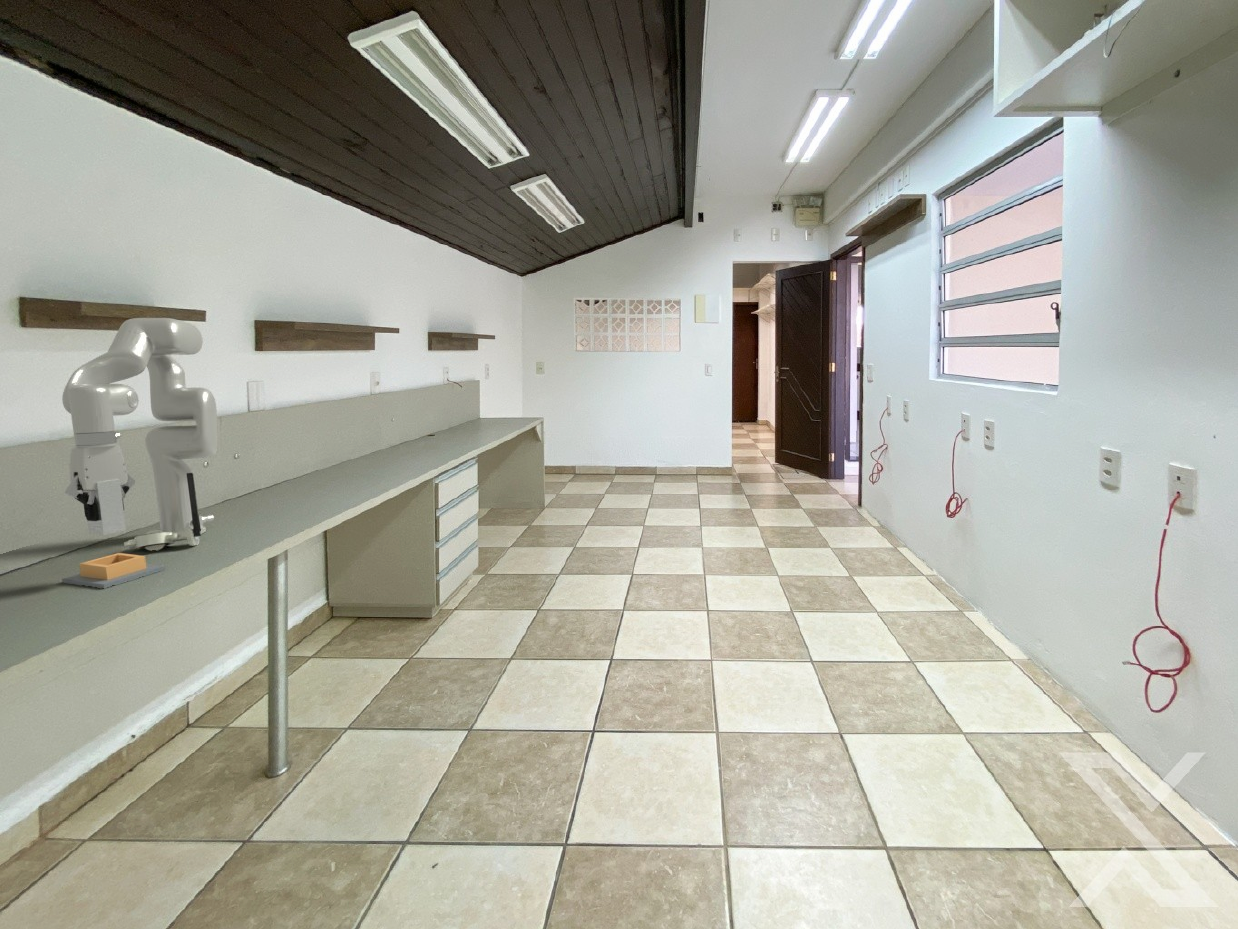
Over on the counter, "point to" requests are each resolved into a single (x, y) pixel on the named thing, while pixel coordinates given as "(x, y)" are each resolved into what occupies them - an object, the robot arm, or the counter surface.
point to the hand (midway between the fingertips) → (105, 517)
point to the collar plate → (112, 570)
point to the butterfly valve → (161, 539)
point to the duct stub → (108, 509)
